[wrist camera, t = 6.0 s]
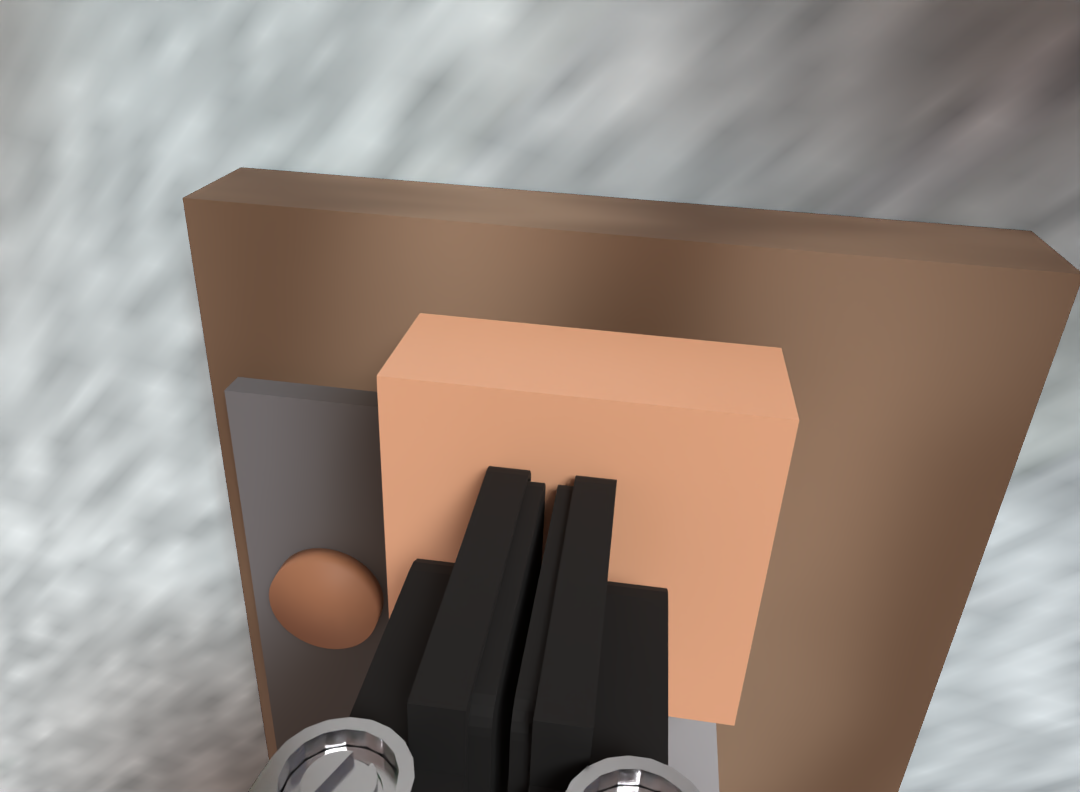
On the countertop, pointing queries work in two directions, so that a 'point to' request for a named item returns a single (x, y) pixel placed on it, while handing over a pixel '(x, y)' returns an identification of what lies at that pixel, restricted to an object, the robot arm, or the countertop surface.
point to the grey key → (694, 752)
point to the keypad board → (650, 309)
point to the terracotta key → (603, 465)
